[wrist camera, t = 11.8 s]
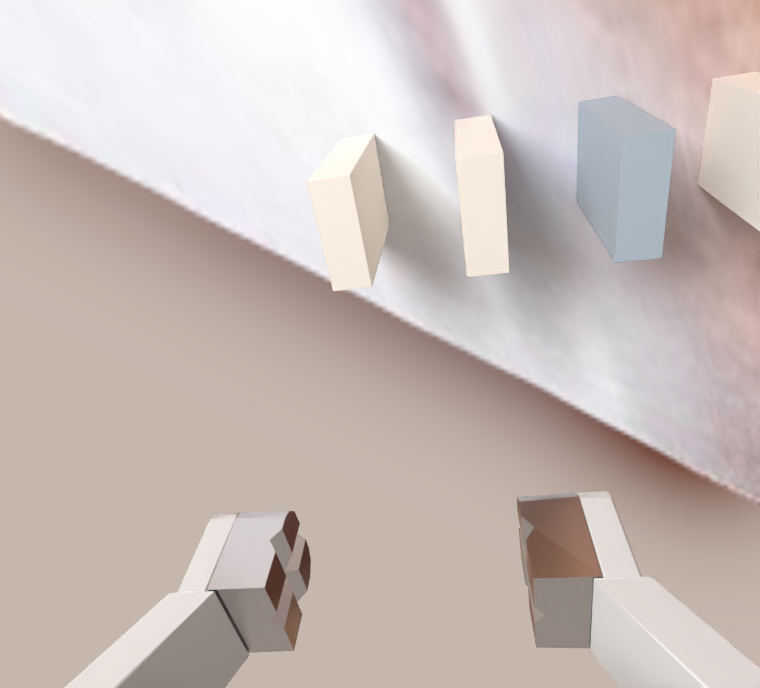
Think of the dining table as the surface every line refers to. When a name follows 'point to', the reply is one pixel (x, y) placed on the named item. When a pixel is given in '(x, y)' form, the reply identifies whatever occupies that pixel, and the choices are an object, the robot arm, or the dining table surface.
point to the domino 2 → (481, 196)
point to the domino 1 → (350, 211)
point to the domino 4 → (734, 145)
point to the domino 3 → (624, 176)
